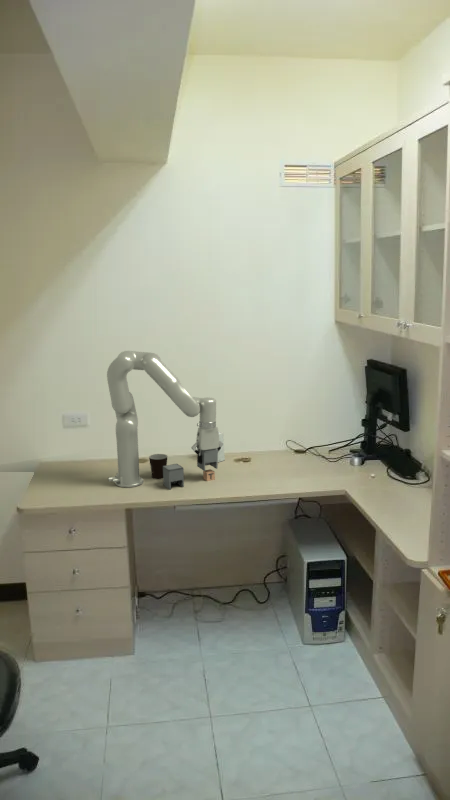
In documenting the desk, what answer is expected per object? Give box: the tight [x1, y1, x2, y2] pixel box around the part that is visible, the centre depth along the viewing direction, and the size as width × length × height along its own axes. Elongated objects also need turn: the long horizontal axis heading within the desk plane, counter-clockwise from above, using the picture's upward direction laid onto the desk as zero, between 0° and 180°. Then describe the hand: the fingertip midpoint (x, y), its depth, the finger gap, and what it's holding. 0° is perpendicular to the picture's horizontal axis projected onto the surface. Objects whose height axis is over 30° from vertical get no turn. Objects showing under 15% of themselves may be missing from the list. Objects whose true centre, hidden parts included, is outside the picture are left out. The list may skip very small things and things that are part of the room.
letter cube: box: [202, 468, 216, 482], centre depth 271 cm, size 4×4×4 cm
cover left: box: [162, 463, 185, 491], centre depth 262 cm, size 7×7×9 cm
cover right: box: [196, 447, 219, 471], centre depth 269 cm, size 7×7×9 cm
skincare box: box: [218, 431, 226, 463], centre depth 298 cm, size 8×6×15 cm
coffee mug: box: [148, 453, 168, 480], centre depth 275 cm, size 12×9×10 cm
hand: (207, 461), depth 269 cm, fingers closed on cover right, 7 cm apart
